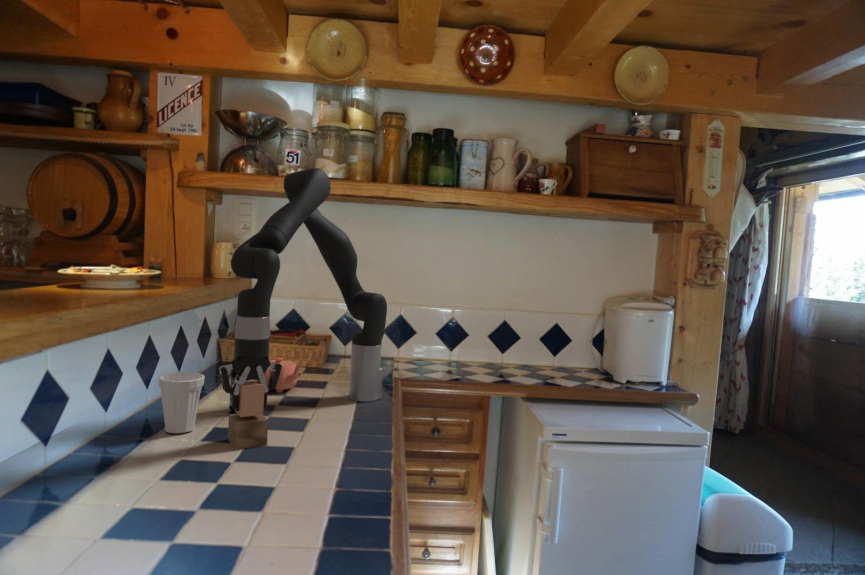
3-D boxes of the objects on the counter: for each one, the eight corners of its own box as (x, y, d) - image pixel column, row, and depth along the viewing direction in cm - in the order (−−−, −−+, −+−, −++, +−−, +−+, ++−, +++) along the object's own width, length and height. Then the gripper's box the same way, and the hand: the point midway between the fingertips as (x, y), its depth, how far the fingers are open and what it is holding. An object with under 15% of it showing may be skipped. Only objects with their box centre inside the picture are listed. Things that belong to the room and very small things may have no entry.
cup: (193, 421, 131) (195, 370, 131) (209, 432, 124) (211, 378, 123) (150, 428, 124) (152, 374, 123) (164, 440, 117) (166, 383, 116)
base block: (258, 436, 124) (259, 411, 124) (266, 445, 119) (268, 419, 118) (227, 440, 120) (229, 414, 120) (234, 450, 115) (236, 423, 114)
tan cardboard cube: (256, 408, 123) (258, 379, 122) (263, 414, 119) (264, 384, 118) (234, 410, 120) (236, 381, 119) (240, 417, 116) (241, 386, 115)
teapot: (254, 394, 159) (256, 362, 158) (252, 385, 170) (254, 354, 169) (302, 393, 164) (304, 361, 163) (297, 384, 175) (299, 354, 174)
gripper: (278, 332, 125) (274, 401, 126) (215, 333, 117) (212, 408, 118) (288, 337, 119) (285, 410, 120) (223, 339, 111) (219, 417, 112)
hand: (249, 408), depth 119 cm, fingers closed on tan cardboard cube, 5 cm apart
